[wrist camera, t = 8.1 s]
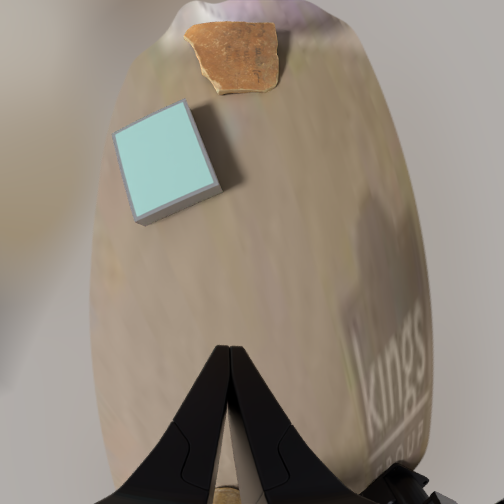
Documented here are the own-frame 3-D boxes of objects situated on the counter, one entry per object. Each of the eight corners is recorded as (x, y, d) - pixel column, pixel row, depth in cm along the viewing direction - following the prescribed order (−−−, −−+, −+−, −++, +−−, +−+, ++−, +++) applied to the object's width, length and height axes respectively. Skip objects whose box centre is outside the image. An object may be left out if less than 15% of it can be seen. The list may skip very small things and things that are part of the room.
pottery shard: (186, 33, 26) (180, 18, 23) (270, 22, 25) (270, 6, 23) (184, 105, 25) (176, 91, 22) (285, 93, 24) (286, 77, 22)
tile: (219, 184, 22) (185, 98, 22) (134, 222, 22) (111, 133, 22) (223, 193, 24) (191, 112, 25) (146, 227, 24) (123, 144, 25)
